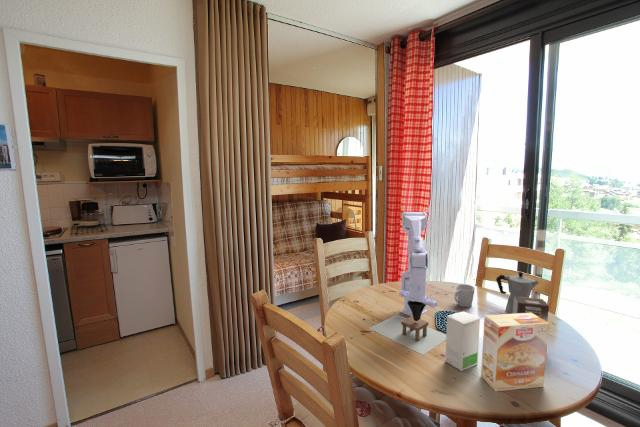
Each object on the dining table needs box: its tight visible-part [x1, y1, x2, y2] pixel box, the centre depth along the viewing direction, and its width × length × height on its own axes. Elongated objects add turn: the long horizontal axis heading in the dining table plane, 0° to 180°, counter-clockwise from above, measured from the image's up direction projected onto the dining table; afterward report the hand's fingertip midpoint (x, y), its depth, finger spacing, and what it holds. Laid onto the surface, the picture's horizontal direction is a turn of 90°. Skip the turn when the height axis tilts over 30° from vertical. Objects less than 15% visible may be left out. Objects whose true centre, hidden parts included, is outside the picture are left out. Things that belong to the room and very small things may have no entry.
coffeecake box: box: [480, 312, 550, 392], centre depth 90 cm, size 15×7×20 cm, turn 96°
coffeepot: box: [496, 271, 540, 314], centre depth 134 cm, size 15×9×18 cm, turn 59°
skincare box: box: [444, 310, 481, 372], centre depth 100 cm, size 8×7×16 cm
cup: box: [453, 283, 476, 308], centre depth 142 cm, size 8×10×8 cm
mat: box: [368, 314, 446, 356], centre depth 119 cm, size 18×24×1 cm
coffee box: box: [513, 296, 550, 322], centre depth 110 cm, size 9×6×16 cm
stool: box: [401, 316, 429, 341], centre depth 117 cm, size 5×7×7 cm
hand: (416, 319), depth 116 cm, fingers closed
